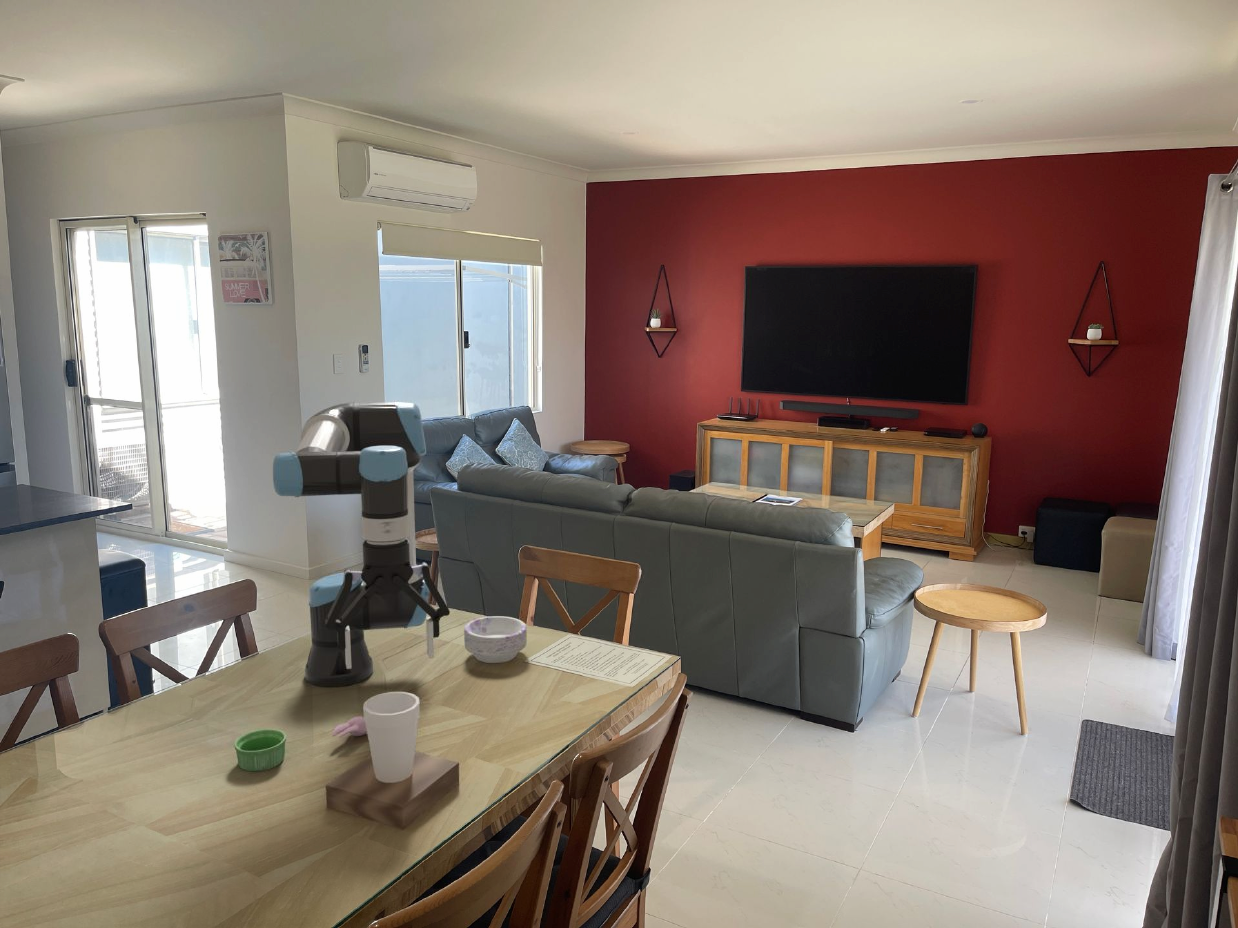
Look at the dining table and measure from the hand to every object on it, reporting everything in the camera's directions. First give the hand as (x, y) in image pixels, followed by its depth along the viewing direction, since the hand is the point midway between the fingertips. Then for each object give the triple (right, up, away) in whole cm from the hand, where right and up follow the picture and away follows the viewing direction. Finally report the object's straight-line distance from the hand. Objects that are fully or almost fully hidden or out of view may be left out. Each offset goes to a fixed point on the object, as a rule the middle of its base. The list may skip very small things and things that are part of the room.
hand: (390, 660), depth 150 cm
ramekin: (-28, -23, +15) cm, 39 cm away
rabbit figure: (-12, -21, +26) cm, 36 cm away
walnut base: (0, -24, +4) cm, 25 cm away
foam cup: (0, -21, +3) cm, 21 cm away
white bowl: (+9, -14, +67) cm, 69 cm away
